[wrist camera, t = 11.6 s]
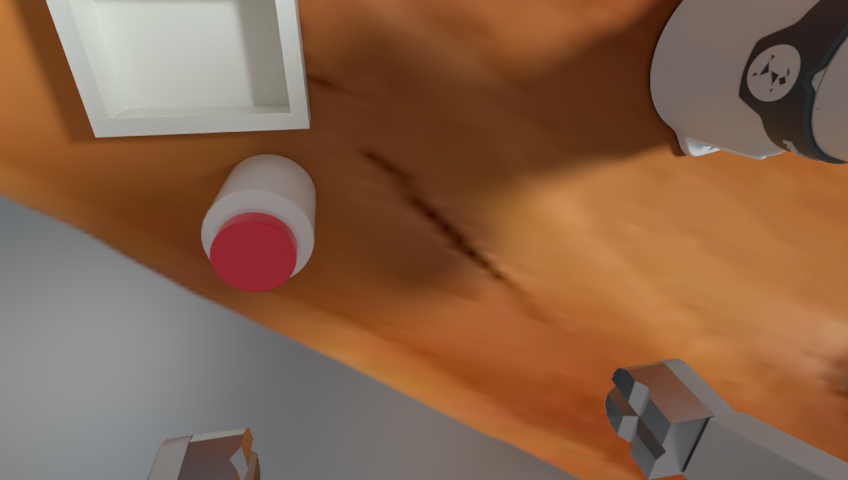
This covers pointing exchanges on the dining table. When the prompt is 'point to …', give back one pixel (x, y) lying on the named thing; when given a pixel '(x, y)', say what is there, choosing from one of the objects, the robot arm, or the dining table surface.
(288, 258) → the pill bottle
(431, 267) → the dining table surface
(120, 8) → the white storage bin
